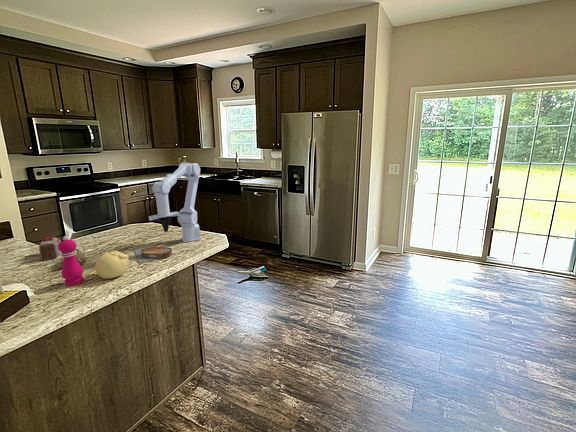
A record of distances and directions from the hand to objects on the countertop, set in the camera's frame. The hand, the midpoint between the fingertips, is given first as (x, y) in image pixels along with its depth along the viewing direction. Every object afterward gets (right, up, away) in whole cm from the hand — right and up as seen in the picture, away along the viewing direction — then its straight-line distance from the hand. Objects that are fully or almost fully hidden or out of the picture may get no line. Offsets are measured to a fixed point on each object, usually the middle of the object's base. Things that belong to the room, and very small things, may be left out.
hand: (166, 231), depth 157 cm
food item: (-57, -12, -3) cm, 58 cm away
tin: (-2, -10, -1) cm, 10 cm away
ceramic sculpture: (-38, -15, -13) cm, 43 cm away
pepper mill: (-25, -20, -32) cm, 45 cm away
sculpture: (-12, -18, -26) cm, 34 cm away
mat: (-8, -12, -3) cm, 14 cm away
